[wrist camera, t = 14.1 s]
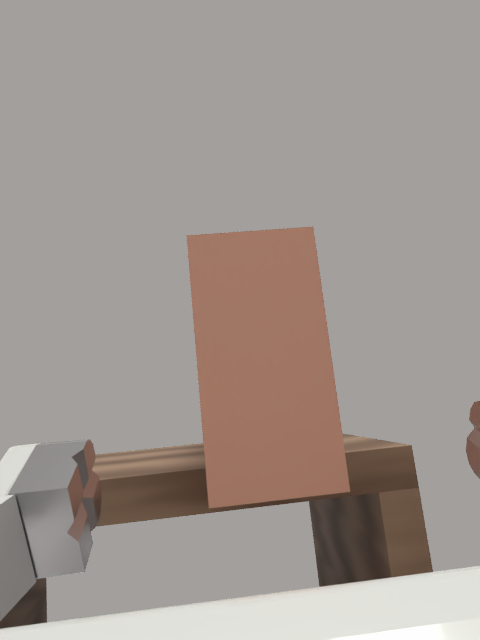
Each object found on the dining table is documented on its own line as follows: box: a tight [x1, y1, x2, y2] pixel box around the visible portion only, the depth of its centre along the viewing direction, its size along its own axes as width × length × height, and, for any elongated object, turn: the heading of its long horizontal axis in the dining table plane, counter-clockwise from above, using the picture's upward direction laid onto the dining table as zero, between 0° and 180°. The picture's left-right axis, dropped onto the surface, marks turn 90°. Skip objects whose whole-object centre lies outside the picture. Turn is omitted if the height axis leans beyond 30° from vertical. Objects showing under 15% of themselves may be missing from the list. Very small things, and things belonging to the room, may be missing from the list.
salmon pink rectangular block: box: [187, 227, 350, 508], centre depth 25 cm, size 24×4×8 cm, turn 4°
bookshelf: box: [0, 434, 433, 629], centre depth 28 cm, size 18×26×36 cm
